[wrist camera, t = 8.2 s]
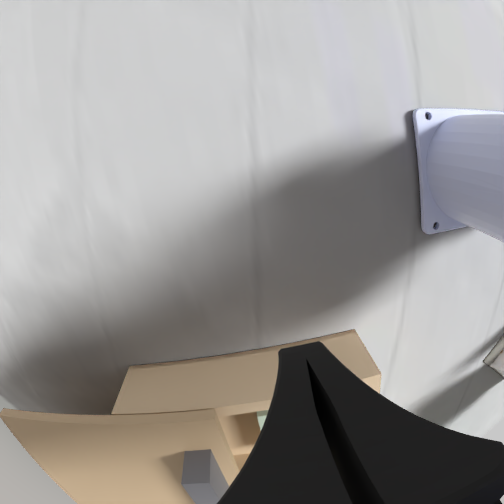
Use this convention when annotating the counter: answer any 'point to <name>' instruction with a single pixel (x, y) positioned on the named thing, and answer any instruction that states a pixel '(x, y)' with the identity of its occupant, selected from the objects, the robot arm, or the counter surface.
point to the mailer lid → (130, 455)
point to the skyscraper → (497, 357)
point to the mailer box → (230, 386)
